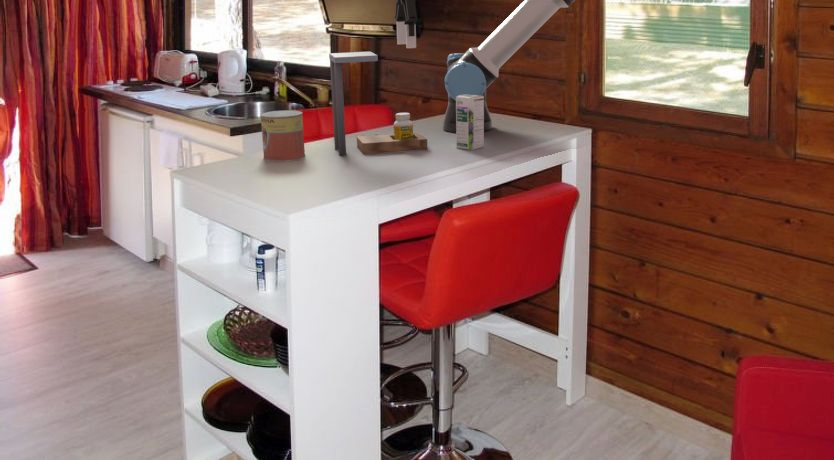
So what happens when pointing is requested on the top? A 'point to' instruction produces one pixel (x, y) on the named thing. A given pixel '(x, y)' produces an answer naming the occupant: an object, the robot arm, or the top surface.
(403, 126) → the supplement bottle
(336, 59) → the grey l-shaped post
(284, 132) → the canned food
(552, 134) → the top surface
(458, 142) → the syrup box
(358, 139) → the socket block
